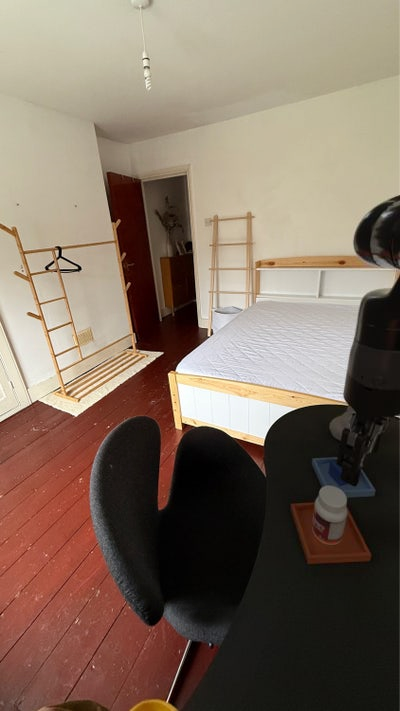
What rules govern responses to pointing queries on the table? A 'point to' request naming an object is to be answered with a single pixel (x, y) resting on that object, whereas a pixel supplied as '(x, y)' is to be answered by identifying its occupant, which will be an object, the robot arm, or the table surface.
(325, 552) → the terracotta tray
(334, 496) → the pill bottle
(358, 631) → the table surface
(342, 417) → the figurine
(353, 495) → the blue tray
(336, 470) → the blue block
